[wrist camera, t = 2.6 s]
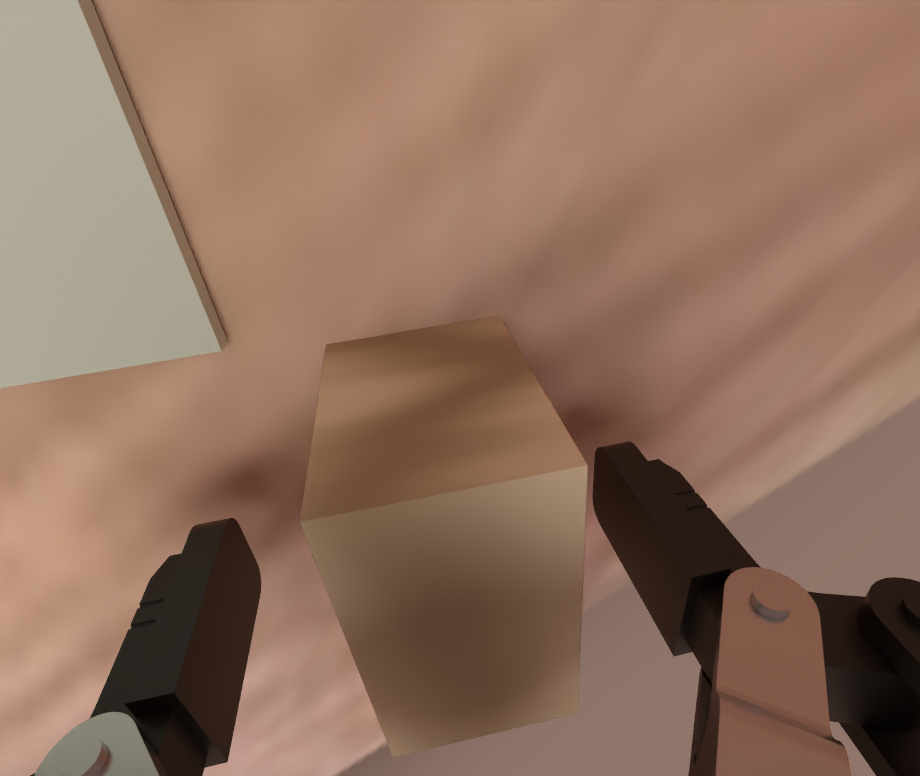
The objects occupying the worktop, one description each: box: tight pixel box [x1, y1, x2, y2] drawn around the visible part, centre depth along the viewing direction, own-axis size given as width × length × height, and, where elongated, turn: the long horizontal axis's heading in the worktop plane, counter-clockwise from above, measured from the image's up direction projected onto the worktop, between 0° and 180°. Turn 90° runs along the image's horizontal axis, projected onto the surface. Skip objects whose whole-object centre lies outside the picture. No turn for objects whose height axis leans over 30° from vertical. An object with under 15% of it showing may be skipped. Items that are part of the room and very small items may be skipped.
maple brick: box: [300, 316, 588, 757], centre depth 11 cm, size 4×7×6 cm, turn 6°
